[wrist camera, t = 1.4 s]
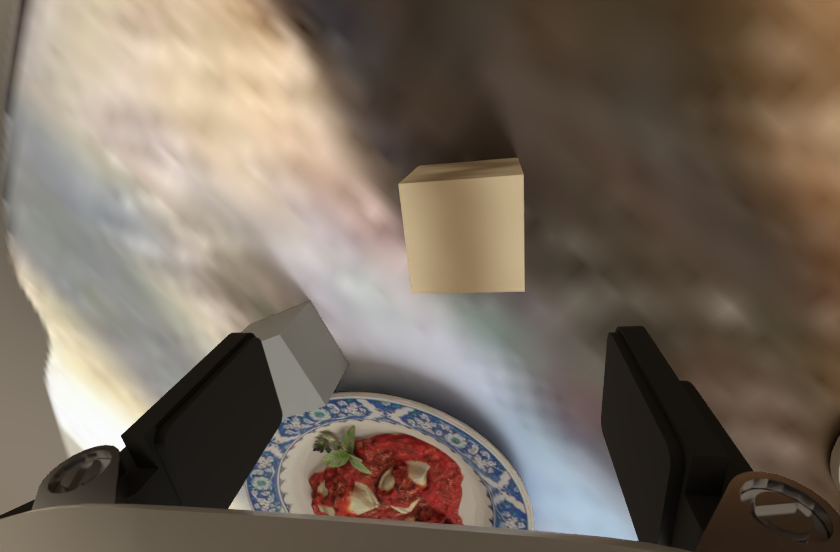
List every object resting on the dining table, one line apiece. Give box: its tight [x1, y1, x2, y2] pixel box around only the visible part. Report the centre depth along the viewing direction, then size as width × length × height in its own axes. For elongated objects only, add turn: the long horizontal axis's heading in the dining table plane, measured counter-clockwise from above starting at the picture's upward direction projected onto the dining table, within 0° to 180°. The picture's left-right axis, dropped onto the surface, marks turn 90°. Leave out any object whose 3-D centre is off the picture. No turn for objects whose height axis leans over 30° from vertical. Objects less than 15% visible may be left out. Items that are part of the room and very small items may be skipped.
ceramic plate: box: [244, 392, 534, 531], centre depth 37 cm, size 26×26×3 cm
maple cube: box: [398, 158, 524, 294], centre depth 24 cm, size 6×6×6 cm
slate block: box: [241, 300, 349, 419], centre depth 31 cm, size 6×6×5 cm
